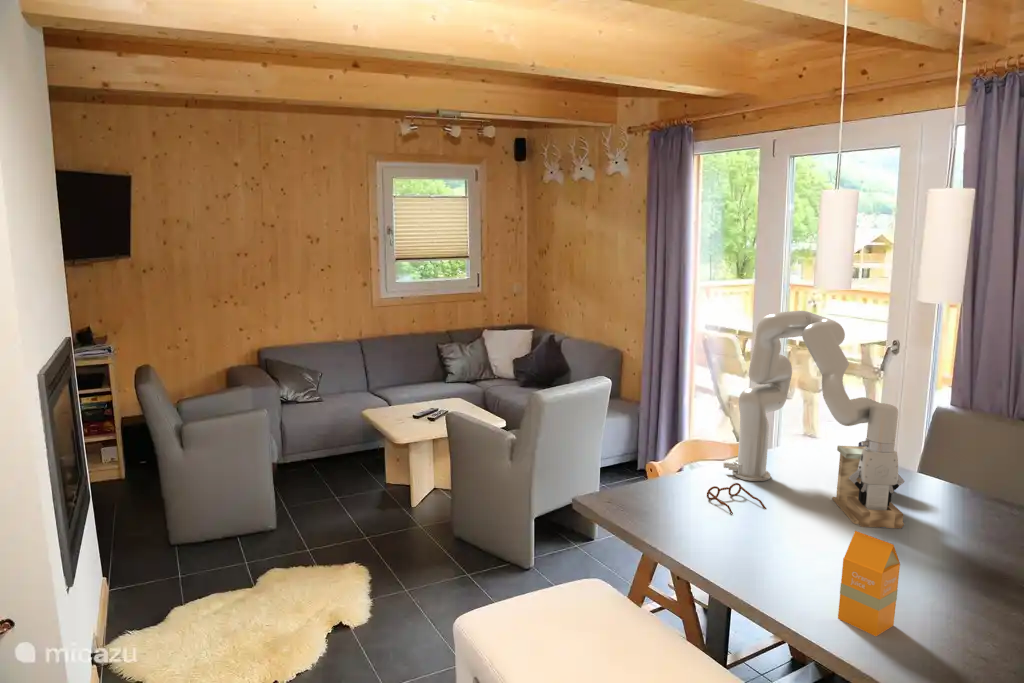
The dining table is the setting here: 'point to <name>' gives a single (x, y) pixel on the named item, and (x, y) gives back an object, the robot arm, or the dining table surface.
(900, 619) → the dining table surface
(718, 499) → the glasses
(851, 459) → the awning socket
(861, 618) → the orange juice
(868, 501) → the skincare box
